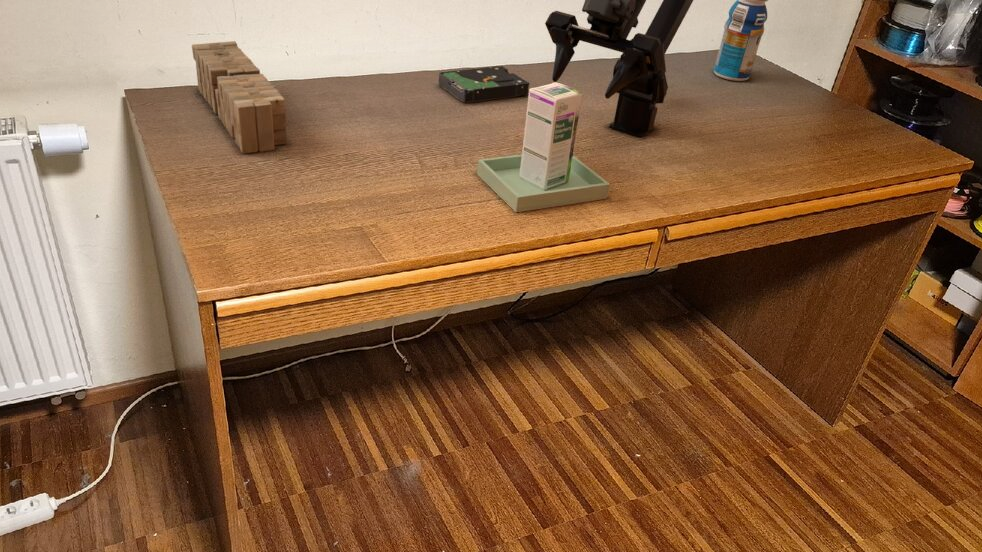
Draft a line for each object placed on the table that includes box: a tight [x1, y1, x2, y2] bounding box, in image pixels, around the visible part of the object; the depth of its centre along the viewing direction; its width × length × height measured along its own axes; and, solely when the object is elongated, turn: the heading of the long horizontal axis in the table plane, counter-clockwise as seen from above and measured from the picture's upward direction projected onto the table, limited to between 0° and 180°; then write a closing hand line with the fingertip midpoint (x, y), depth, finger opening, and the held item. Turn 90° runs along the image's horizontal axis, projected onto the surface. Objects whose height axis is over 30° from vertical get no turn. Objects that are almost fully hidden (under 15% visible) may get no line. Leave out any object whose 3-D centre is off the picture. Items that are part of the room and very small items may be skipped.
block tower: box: [191, 40, 288, 154], centre depth 133 cm, size 8×8×29 cm
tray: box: [476, 154, 611, 213], centre depth 124 cm, size 16×13×2 cm
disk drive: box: [438, 65, 530, 103], centre depth 156 cm, size 10×3×15 cm
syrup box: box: [519, 81, 583, 190], centre depth 122 cm, size 6×6×14 cm
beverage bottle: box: [713, 0, 769, 82], centre depth 174 cm, size 8×8×20 cm
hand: (579, 88), depth 123 cm, fingers open, 9 cm apart
